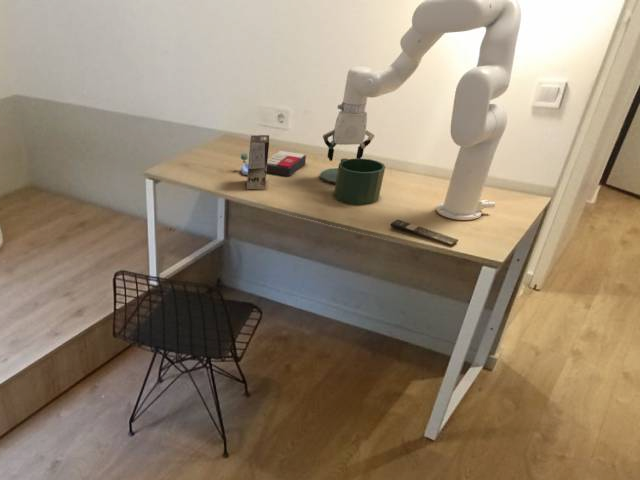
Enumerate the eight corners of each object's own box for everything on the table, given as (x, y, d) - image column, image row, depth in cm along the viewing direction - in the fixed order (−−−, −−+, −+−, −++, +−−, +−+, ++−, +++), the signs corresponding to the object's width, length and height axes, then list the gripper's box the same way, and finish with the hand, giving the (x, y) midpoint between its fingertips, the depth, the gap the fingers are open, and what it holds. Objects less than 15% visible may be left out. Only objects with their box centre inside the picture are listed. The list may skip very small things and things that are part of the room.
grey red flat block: (262, 162, 228) (279, 148, 237) (261, 173, 230) (278, 160, 239) (289, 166, 222) (306, 153, 231) (288, 178, 225) (305, 164, 234)
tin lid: (358, 170, 227) (361, 152, 222) (368, 185, 215) (372, 166, 210) (316, 171, 228) (319, 153, 224) (324, 186, 216) (327, 167, 212)
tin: (372, 188, 212) (378, 157, 205) (383, 204, 201) (390, 172, 194) (330, 189, 213) (335, 159, 207) (338, 205, 202) (344, 173, 195)
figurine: (238, 170, 233) (239, 152, 229) (255, 168, 233) (257, 150, 229) (243, 177, 227) (244, 158, 222) (261, 175, 227) (263, 157, 223)
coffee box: (264, 190, 215) (269, 142, 206) (246, 189, 217) (249, 142, 207) (265, 180, 222) (269, 134, 213) (247, 180, 224) (251, 134, 214)
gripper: (329, 111, 204) (321, 163, 215) (382, 110, 203) (371, 162, 214) (325, 105, 210) (317, 156, 221) (377, 104, 209) (366, 155, 220)
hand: (344, 159), depth 217 cm, fingers open, 9 cm apart
